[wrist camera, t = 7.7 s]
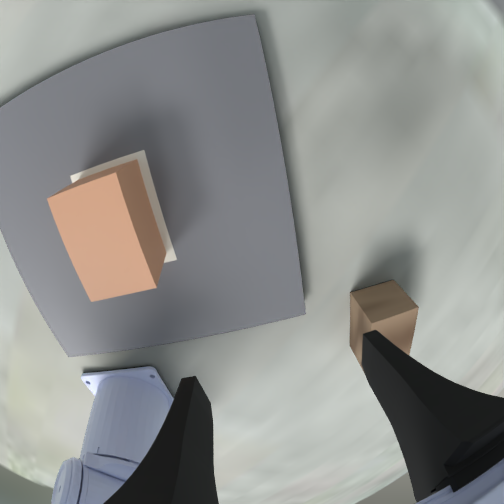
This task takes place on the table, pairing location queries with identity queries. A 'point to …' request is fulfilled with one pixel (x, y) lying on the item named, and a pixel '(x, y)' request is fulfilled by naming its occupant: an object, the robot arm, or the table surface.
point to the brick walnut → (382, 316)
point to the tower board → (159, 186)
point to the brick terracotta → (110, 232)
